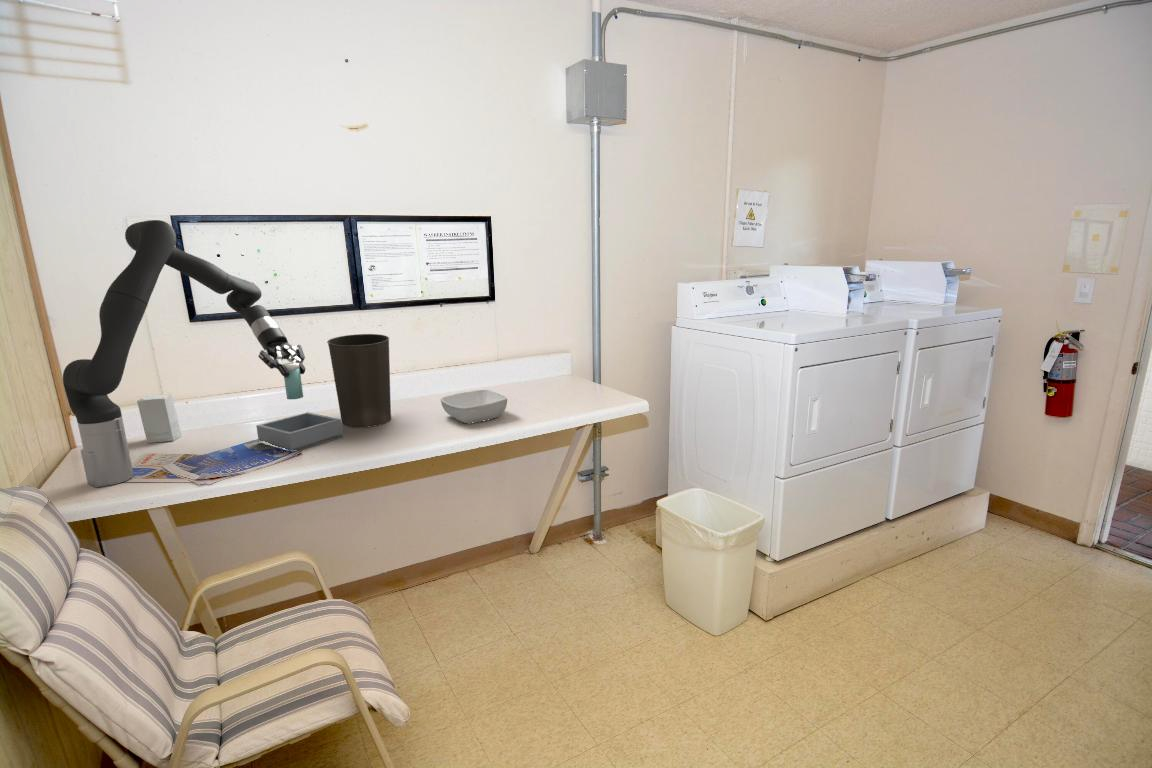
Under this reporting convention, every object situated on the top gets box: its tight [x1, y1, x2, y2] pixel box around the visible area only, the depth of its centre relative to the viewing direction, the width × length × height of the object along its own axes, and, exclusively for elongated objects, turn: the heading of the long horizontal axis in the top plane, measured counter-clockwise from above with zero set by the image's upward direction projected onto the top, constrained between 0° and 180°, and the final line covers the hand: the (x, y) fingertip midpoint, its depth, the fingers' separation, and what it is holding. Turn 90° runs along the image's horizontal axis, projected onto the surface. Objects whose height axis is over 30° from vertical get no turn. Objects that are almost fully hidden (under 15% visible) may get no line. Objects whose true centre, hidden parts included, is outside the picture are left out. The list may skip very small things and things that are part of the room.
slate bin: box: [256, 411, 343, 451], centre depth 188 cm, size 18×18×6 cm
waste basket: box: [327, 333, 392, 428], centre depth 205 cm, size 27×20×30 cm
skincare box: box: [136, 393, 182, 444], centre depth 190 cm, size 8×6×15 cm
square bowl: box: [440, 389, 508, 424], centre depth 210 cm, size 20×20×8 cm
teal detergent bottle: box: [283, 362, 304, 400], centre depth 184 cm, size 5×5×11 cm
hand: (295, 373), depth 183 cm, fingers closed on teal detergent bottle, 4 cm apart
